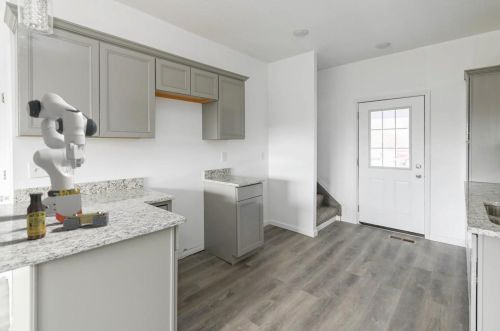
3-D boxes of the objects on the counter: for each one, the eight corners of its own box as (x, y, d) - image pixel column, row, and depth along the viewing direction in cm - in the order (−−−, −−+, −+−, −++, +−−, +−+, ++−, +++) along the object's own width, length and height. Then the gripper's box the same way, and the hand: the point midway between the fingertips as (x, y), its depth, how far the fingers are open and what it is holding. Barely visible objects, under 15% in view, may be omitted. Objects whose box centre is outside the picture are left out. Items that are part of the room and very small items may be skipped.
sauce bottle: (28, 241, 104) (25, 195, 102) (26, 237, 108) (23, 193, 106) (48, 237, 109) (45, 192, 107) (45, 233, 113) (42, 191, 111)
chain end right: (108, 221, 131) (108, 212, 131) (106, 225, 124) (106, 216, 124) (95, 222, 129) (95, 213, 129) (92, 227, 122) (92, 217, 121)
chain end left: (63, 230, 117) (62, 220, 116) (68, 225, 124) (67, 216, 124) (78, 228, 119) (77, 218, 119) (82, 224, 127) (81, 214, 126)
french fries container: (55, 223, 129) (53, 189, 127) (80, 218, 137) (78, 186, 135) (57, 224, 126) (55, 190, 124) (82, 220, 133) (80, 187, 132)
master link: (69, 225, 120) (69, 215, 120) (71, 223, 123) (71, 213, 122) (102, 221, 125) (102, 212, 125) (103, 220, 128) (103, 210, 128)
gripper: (77, 140, 118) (78, 169, 119) (86, 141, 137) (87, 166, 138) (61, 140, 115) (62, 169, 116) (72, 141, 134) (74, 166, 135)
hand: (76, 167), depth 127 cm, fingers open, 8 cm apart
